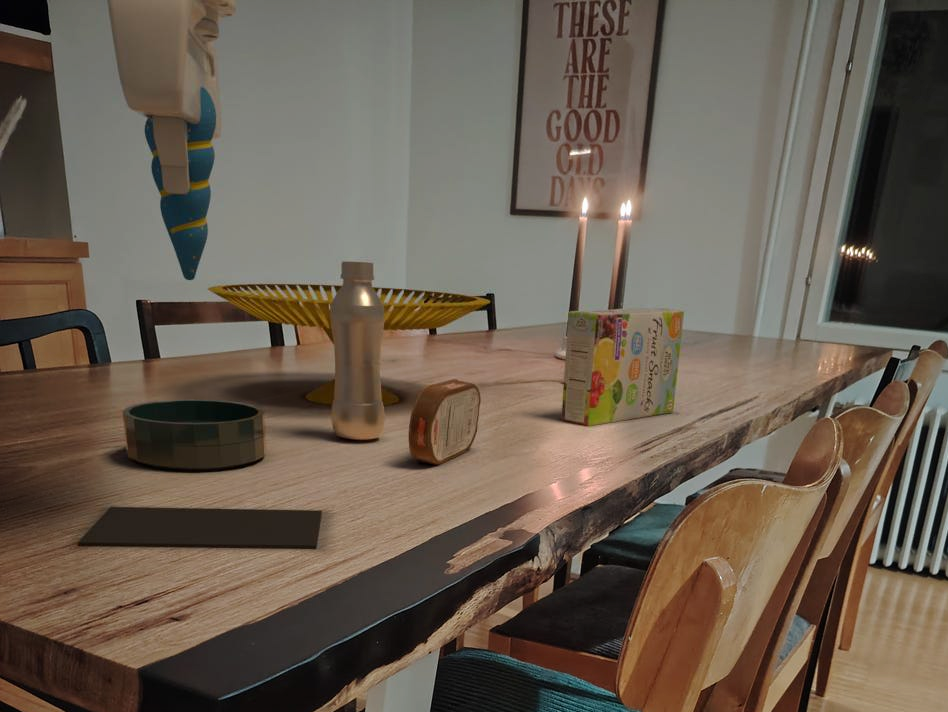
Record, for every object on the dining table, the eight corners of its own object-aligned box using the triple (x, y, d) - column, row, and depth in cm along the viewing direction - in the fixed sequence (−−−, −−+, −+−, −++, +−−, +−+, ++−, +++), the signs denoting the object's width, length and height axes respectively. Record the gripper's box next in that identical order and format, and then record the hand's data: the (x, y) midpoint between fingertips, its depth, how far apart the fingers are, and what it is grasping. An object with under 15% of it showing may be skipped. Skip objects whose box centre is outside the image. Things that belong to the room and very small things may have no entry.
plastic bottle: (346, 447, 108) (344, 262, 100) (321, 436, 113) (318, 260, 105) (394, 443, 112) (397, 264, 104) (369, 432, 117) (369, 261, 109)
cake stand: (477, 384, 160) (481, 291, 154) (496, 429, 123) (502, 309, 117) (240, 374, 156) (235, 279, 150) (185, 417, 120) (176, 294, 114)
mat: (78, 547, 71) (77, 542, 71) (110, 511, 80) (110, 506, 80) (316, 550, 73) (316, 545, 73) (321, 514, 82) (321, 510, 82)
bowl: (113, 472, 92) (107, 421, 90) (144, 442, 105) (139, 397, 103) (258, 475, 94) (256, 425, 92) (271, 445, 107) (269, 401, 105)
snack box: (644, 408, 145) (656, 306, 139) (674, 413, 142) (688, 310, 136) (557, 421, 131) (567, 308, 125) (589, 427, 128) (600, 312, 122)
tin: (458, 445, 112) (461, 373, 109) (482, 448, 111) (486, 376, 108) (404, 469, 99) (406, 389, 96) (431, 473, 98) (434, 392, 95)
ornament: (170, 277, 75) (154, 62, 69) (233, 280, 75) (222, 66, 69) (147, 279, 70) (127, 49, 64) (214, 283, 70) (200, 53, 64)
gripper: (153, 6, 74) (168, 197, 79) (83, -70, 55) (109, 187, 61) (234, 13, 75) (243, 202, 80) (192, -60, 56) (207, 193, 62)
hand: (185, 195), depth 70 cm, fingers closed on ornament, 4 cm apart
